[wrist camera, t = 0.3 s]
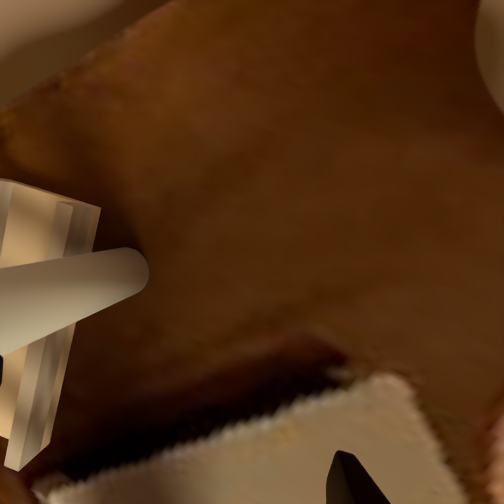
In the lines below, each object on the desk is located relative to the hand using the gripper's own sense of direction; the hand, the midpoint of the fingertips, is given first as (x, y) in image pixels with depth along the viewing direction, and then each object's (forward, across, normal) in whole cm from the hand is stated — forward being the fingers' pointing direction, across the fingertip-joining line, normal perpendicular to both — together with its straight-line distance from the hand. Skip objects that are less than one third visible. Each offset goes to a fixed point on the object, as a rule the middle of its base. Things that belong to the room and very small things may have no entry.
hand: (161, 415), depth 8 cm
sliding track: (+15, +16, +8) cm, 23 cm away
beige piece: (+15, +8, +2) cm, 17 cm away
